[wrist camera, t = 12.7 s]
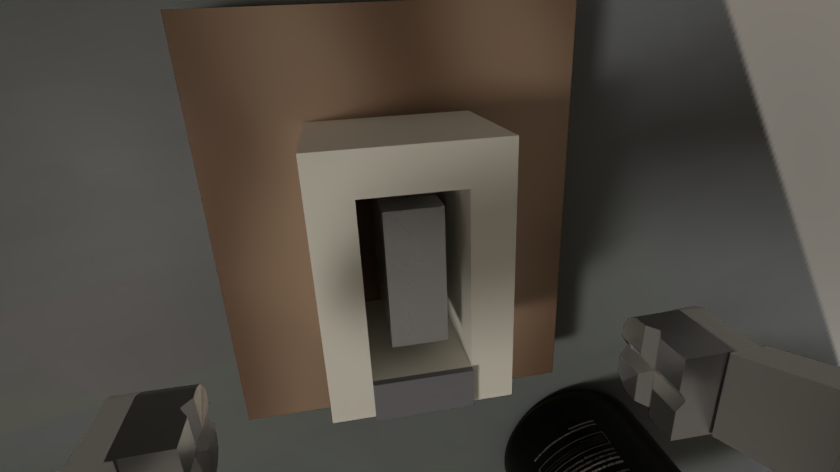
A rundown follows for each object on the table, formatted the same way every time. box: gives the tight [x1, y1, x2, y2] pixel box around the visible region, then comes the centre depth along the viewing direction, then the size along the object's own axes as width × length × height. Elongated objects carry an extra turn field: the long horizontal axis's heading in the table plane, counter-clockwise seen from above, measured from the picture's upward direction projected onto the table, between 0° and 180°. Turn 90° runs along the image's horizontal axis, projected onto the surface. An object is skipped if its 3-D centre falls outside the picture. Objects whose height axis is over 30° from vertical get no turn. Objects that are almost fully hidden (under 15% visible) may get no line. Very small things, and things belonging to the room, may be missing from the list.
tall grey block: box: [371, 192, 448, 348], centre depth 15 cm, size 2×4×4 cm, turn 2°
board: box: [161, 0, 577, 420], centre depth 18 cm, size 12×14×2 cm
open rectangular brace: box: [296, 110, 519, 423], centre depth 15 cm, size 8×5×5 cm
